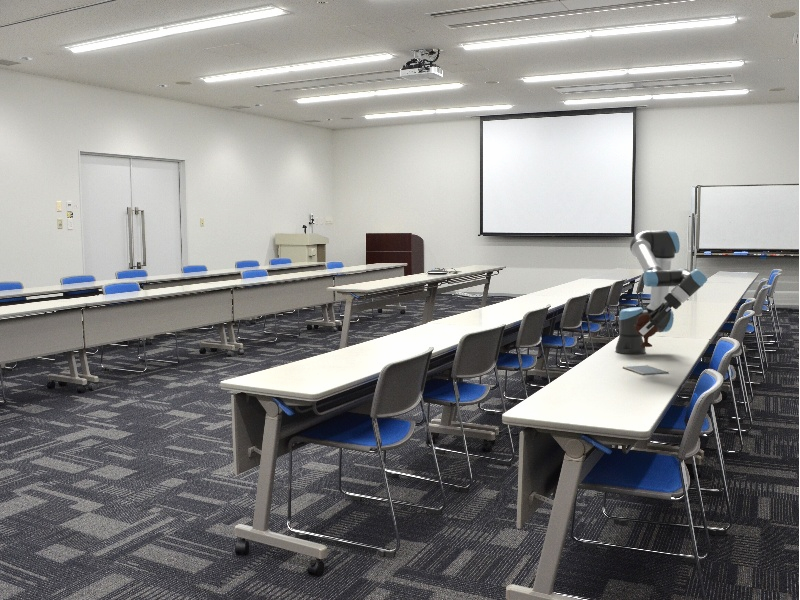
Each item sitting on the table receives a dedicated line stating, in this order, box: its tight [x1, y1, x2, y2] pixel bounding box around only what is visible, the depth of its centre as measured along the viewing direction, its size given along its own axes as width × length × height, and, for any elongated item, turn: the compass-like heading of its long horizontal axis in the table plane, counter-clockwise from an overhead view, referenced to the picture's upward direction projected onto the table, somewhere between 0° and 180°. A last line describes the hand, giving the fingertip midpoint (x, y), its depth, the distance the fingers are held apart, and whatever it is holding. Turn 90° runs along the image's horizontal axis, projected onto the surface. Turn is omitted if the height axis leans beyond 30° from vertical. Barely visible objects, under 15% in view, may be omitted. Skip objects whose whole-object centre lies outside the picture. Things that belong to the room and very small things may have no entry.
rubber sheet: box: [622, 364, 670, 376], centre depth 328 cm, size 17×13×1 cm
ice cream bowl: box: [634, 314, 659, 348], centre depth 326 cm, size 11×11×15 cm
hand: (639, 331), depth 327 cm, fingers closed on ice cream bowl, 11 cm apart
